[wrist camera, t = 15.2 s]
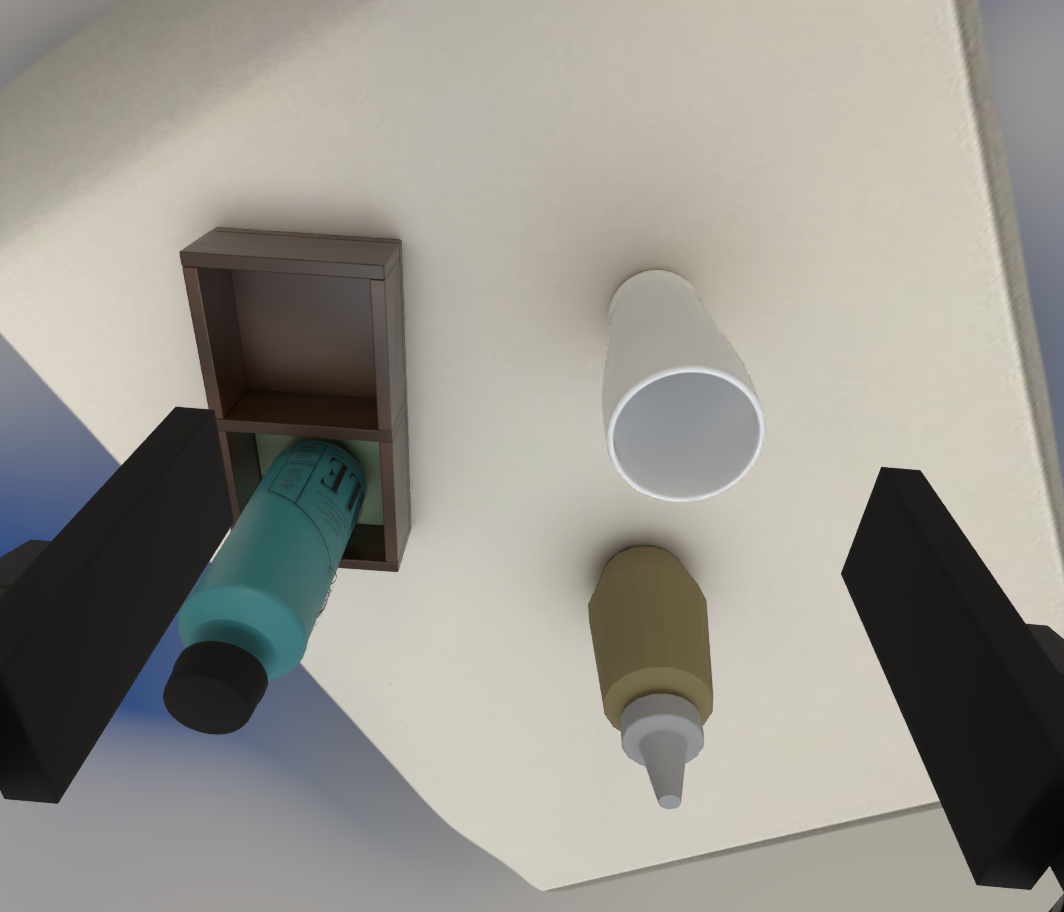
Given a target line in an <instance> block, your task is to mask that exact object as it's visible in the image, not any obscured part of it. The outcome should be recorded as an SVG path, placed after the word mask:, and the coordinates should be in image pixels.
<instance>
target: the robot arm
mask: <svg viewBox="0 0 1064 912" xmlns="http://www.w3.org/2000/svg"><path fill="white" fill-rule="evenodd" d="M233 523H234V517H233V512H232V506H231V500H230V495H229V489H228V483H227V478H226V472H225V467H224V461H223V455H222V450H221V444H220V438H219V433H218V427H217V421H216V416H215V410H209V409H197V408H185V407H175V408H174V409H173V410H172V411H171V412H170V413H169V415H168V416H167V417H166V418H165V419H164V420H163V421H162V422H161V423H160V424H159V425H158V426H157V428H156V429H155V430H154V431H153V432H152V433H151V434H150V435H149V436H148V437H147V438H146V440H145V441H144V442H143V443H142V444H141V445H140V446H139V447H138V448H137V449H136V450H135V451H134V453H133V454H132V455H131V456H130V457H129V458H128V459H127V460H126V461H125V462H124V463H123V464H122V466H121V467H120V468H119V469H118V470H117V471H116V472H115V473H114V474H113V475H112V476H111V477H110V479H109V480H108V481H107V482H106V483H105V484H104V485H103V486H102V487H101V488H100V489H99V490H98V492H97V493H96V494H95V495H94V496H93V497H92V498H91V499H90V500H89V501H88V502H87V504H86V505H85V506H84V507H83V508H82V509H81V510H80V511H79V512H78V513H77V514H76V515H75V516H74V518H73V519H72V520H71V521H70V522H69V523H68V524H67V525H66V526H65V527H64V528H63V530H62V531H61V532H60V533H59V534H58V535H57V536H56V537H55V538H54V539H53V540H52V541H41V540H29V541H27V542H26V543H24V544H22V545H20V546H19V547H17V548H15V549H14V550H13V551H11V552H9V553H7V554H5V555H4V556H2V557H0V791H1V793H2V795H3V797H4V799H10V800H22V801H33V802H45V803H55V804H58V802H59V801H60V799H61V798H62V796H63V795H64V793H65V792H66V790H67V788H68V787H69V785H70V783H71V782H72V780H73V779H74V777H75V776H76V774H77V772H78V771H79V769H80V768H81V766H82V764H83V763H84V761H85V759H86V758H87V756H88V755H89V753H90V751H91V750H92V748H93V747H94V745H95V744H96V742H97V740H98V739H99V737H100V735H101V734H102V732H103V731H104V729H105V727H106V726H107V724H108V723H109V721H110V719H111V718H112V716H113V715H114V713H115V711H116V710H117V708H118V707H119V705H120V703H121V702H122V700H123V699H124V697H125V695H126V694H127V692H128V691H129V689H130V687H131V686H132V684H133V683H134V681H135V679H136V678H137V676H138V675H139V673H140V671H141V670H142V668H143V666H144V665H145V663H146V662H147V660H148V659H149V657H150V655H151V654H152V652H153V651H154V649H155V647H156V646H157V644H158V643H159V641H160V639H161V638H162V636H163V635H164V633H165V631H166V630H167V628H168V627H169V625H170V623H171V622H172V620H173V618H174V617H175V615H176V614H177V612H178V611H179V609H180V607H181V606H182V604H183V603H184V601H185V599H186V598H187V596H188V595H189V593H190V591H191V590H192V588H193V587H194V585H195V583H196V582H197V580H198V578H199V577H200V575H201V574H202V572H203V570H204V569H205V567H206V566H207V564H208V563H209V561H210V559H211V558H212V556H213V555H214V553H215V551H216V550H217V548H218V547H219V545H220V543H221V542H222V540H223V539H224V537H225V535H226V534H227V532H228V531H229V529H230V527H231V526H232V524H233ZM841 575H842V577H843V580H844V582H845V584H846V586H847V589H848V591H849V593H850V596H851V598H852V600H853V602H854V605H855V607H856V609H857V612H858V614H859V616H860V619H861V621H862V623H863V625H864V628H865V630H866V632H867V635H868V637H869V639H870V641H871V644H872V646H873V648H874V651H875V653H876V655H877V658H878V660H879V662H880V664H881V667H882V669H883V671H884V674H885V676H886V678H887V680H888V683H889V685H890V687H891V690H892V692H893V694H894V697H895V699H896V701H897V703H898V706H899V708H900V710H901V713H902V715H903V717H904V719H905V722H906V724H907V726H908V729H909V731H910V733H911V736H912V738H913V740H914V742H915V745H916V747H917V749H918V752H919V754H920V756H921V758H922V761H923V763H924V765H925V768H926V770H927V772H928V775H929V777H930V779H931V781H932V784H933V786H934V788H935V791H936V793H937V795H938V797H939V800H940V802H941V804H942V807H943V809H944V811H945V813H946V816H947V818H948V820H949V823H950V825H951V827H952V830H953V832H954V834H955V836H956V839H957V841H958V843H959V846H960V848H961V850H962V852H963V855H964V857H965V859H966V862H967V864H968V866H969V869H970V871H971V873H972V875H973V878H974V880H975V882H976V885H981V886H993V887H1003V888H1015V889H1026V890H1031V889H1032V888H1033V886H1034V885H1035V884H1036V883H1037V881H1038V880H1039V878H1040V877H1041V876H1042V875H1043V874H1044V872H1045V871H1046V870H1047V869H1048V867H1049V866H1050V867H1051V868H1052V871H1053V872H1054V874H1055V876H1056V878H1057V880H1058V882H1059V884H1060V886H1061V888H1062V889H1063V891H1064V639H1063V638H1062V637H1061V636H1059V635H1058V634H1057V633H1056V632H1055V631H1053V630H1052V629H1051V628H1050V627H1048V626H1046V625H1034V624H1025V622H1024V621H1023V619H1022V618H1021V616H1020V615H1019V613H1018V612H1017V611H1016V609H1015V608H1014V606H1013V605H1012V603H1011V602H1010V600H1009V599H1008V597H1007V596H1006V594H1005V593H1004V592H1003V590H1002V589H1001V587H1000V586H999V584H998V583H997V581H996V580H995V578H994V577H993V576H992V574H991V573H990V571H989V570H988V568H987V567H986V565H985V564H984V562H983V561H982V559H981V558H980V557H979V555H978V554H977V552H976V551H975V549H974V548H973V546H972V545H971V543H970V542H969V540H968V539H967V538H966V536H965V535H964V533H963V532H962V530H961V529H960V527H959V526H958V524H957V523H956V521H955V520H954V519H953V517H952V516H951V514H950V513H949V511H948V510H947V508H946V507H945V505H944V504H943V503H942V501H941V500H940V498H939V497H938V495H937V494H936V492H935V491H934V489H933V488H932V486H931V485H930V484H929V482H928V481H927V479H926V478H925V476H924V475H923V473H922V472H921V470H911V469H899V468H888V467H881V469H880V472H879V474H878V477H877V480H876V482H875V485H874V488H873V490H872V493H871V496H870V498H869V501H868V503H867V506H866V509H865V511H864V514H863V517H862V519H861V522H860V525H859V527H858V530H857V533H856V535H855V538H854V541H853V543H852V546H851V548H850V551H849V554H848V556H847V559H846V562H845V564H844V567H843V570H842V572H841ZM1049 912H1064V894H1063V895H1062V896H1061V897H1060V898H1059V900H1058V901H1057V902H1056V903H1055V905H1054V906H1053V907H1052V908H1051V909H1050V910H1049Z"/></svg>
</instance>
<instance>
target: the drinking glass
mask: <svg viewBox="0 0 1064 912" xmlns="http://www.w3.org/2000/svg"><path fill="white" fill-rule="evenodd" d="M608 323H609V333H608V343H607V352H606V360H605V368H604V377H603V387H602V414H603V424H604V431H605V437H606V442H607V449H608V453H609V457H610V459H611V462H612V464H613V466H614V468H615V469H616V471H617V472H618V474H619V475H620V476H621V477H622V478H623V480H624V481H625V482H626V483H628V484H629V485H630V486H631V487H633V488H634V489H636V490H637V491H639V492H641V493H643V494H645V495H647V496H649V497H652V498H655V499H659V500H663V501H670V502H690V501H697V500H702V499H706V498H709V497H712V496H715V495H717V494H719V493H721V492H723V491H725V490H727V489H729V488H730V487H732V486H733V485H735V484H736V483H737V482H738V481H740V480H741V479H742V478H743V477H744V476H745V475H746V474H747V473H748V472H749V471H750V469H751V468H752V467H753V465H754V464H755V462H756V460H757V459H758V457H759V455H760V453H761V450H762V447H763V443H764V439H765V417H764V413H763V410H762V407H761V404H760V401H759V398H758V395H757V393H756V390H755V387H754V384H753V382H752V380H751V377H750V375H749V373H748V371H747V369H746V367H745V365H744V363H743V362H742V360H741V358H740V357H739V355H738V353H737V352H736V350H735V349H734V347H733V346H732V344H731V343H730V342H729V340H728V339H727V337H726V336H725V335H724V333H723V332H722V331H721V329H720V328H719V327H718V325H717V324H716V322H715V321H714V320H713V318H712V317H711V316H710V314H709V313H708V311H707V310H706V308H705V307H704V306H703V304H702V303H701V301H700V298H699V296H698V294H697V292H696V291H695V289H694V288H693V286H692V285H691V284H690V283H689V282H688V281H687V280H686V279H684V278H683V277H681V276H680V275H678V274H676V273H673V272H670V271H665V270H649V271H645V272H641V273H639V274H636V275H634V276H633V277H631V278H629V279H628V280H627V281H625V282H624V283H623V284H622V285H621V286H620V287H619V289H618V290H617V291H616V293H615V294H614V296H613V298H612V301H611V304H610V307H609V313H608Z"/></svg>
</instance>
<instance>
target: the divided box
mask: <svg viewBox="0 0 1064 912" xmlns="http://www.w3.org/2000/svg"><path fill="white" fill-rule="evenodd" d="M180 258H181V263H182V266H183V274H184V279H185V284H186V290H187V295H188V300H189V306H190V311H191V316H192V322H193V327H194V333H195V338H196V343H197V349H198V354H199V359H200V365H201V370H202V375H203V381H204V386H205V391H206V397H207V402H208V407H209V410H215V416H216V421H217V427H218V433H219V438H220V444H221V450H222V455H223V461H224V467H225V472H226V478H227V483H228V489H229V495H230V500H231V506H232V512H233V517H234V520H235V521H234V523H233V524H232V525H233V526H231V528H232V529H233V528H234V526H235V524H236V522H237V518H239V517H240V515H241V513H240V512H243V510H244V508H245V507H246V506H245V504H246V503H247V504H248V502H249V500H247V498H248V499H249V498H250V499H251V497H252V495H253V494H254V492H255V491H256V489H255V488H256V487H258V486H259V485H258V483H259V482H261V481H262V479H261V478H262V477H264V476H265V474H266V473H267V471H268V469H269V468H270V466H271V464H272V463H273V461H274V460H275V458H276V457H277V456H278V455H279V454H280V453H281V452H282V451H283V450H285V449H286V448H288V447H290V446H291V445H293V444H296V443H299V442H302V441H323V442H327V443H331V444H334V445H336V446H338V447H340V448H342V449H343V450H345V451H346V452H348V453H349V454H350V455H351V456H352V457H353V458H354V459H355V460H356V461H357V462H358V464H359V465H360V467H361V469H362V471H363V473H364V476H365V480H366V483H367V484H366V494H367V495H368V497H367V495H366V496H365V500H364V503H363V506H362V509H361V511H360V513H361V512H362V513H361V515H360V513H359V516H360V517H361V518H360V517H359V516H358V518H359V519H358V518H357V519H358V522H359V523H358V522H357V524H358V525H357V524H356V526H357V527H356V526H355V529H356V530H355V529H354V531H355V532H354V531H353V533H354V534H353V537H352V536H351V538H350V541H349V543H348V546H347V547H348V548H347V549H346V550H345V551H344V553H343V557H342V558H341V559H342V560H343V559H344V560H343V561H340V563H339V566H338V568H348V569H362V570H376V571H390V572H398V571H399V567H400V564H401V561H402V557H403V554H404V551H405V547H406V544H407V541H408V537H409V534H410V531H411V507H410V478H409V448H408V418H407V389H406V359H405V329H404V300H403V270H402V242H401V240H395V239H380V238H366V237H351V236H336V235H322V234H307V233H292V232H278V231H263V230H248V229H234V228H219V227H216V228H215V229H213V230H212V231H210V232H208V233H207V234H205V235H204V236H202V237H201V238H199V239H198V240H196V241H195V242H193V243H192V244H190V245H189V246H187V247H186V248H184V249H183V250H181V251H180ZM265 469H266V470H267V471H266V470H265ZM261 476H262V477H261ZM260 477H261V478H260ZM260 479H261V480H260ZM258 480H260V481H258ZM255 485H257V486H255ZM367 488H368V491H367ZM253 491H254V492H253ZM246 501H247V502H246ZM247 504H246V505H247ZM363 507H364V509H363ZM240 509H242V510H240ZM362 510H363V511H362ZM237 514H239V515H237ZM232 529H231V531H232ZM351 539H352V540H351ZM349 544H350V545H349ZM346 552H347V553H346ZM344 556H345V557H344ZM341 562H342V563H341Z"/></svg>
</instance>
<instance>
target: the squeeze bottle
mask: <svg viewBox="0 0 1064 912" xmlns="http://www.w3.org/2000/svg"><path fill="white" fill-rule="evenodd" d="M588 609H589V623H590V629H591V635H592V641H593V647H594V653H595V659H596V665H597V671H598V677H599V683H600V689H601V695H602V701H603V706H604V712H605V715H606V717H607V718H608V720H609V721H610V723H611V724H612V725H613V727H614V728H616V729H618V730H619V731H621V738H622V748H623V750H624V751H625V753H626V754H627V756H628V757H629V758H630V759H632V760H634V761H635V762H637V763H639V764H640V765H643V766H646V768H647V771H648V774H649V777H650V780H651V783H652V786H653V789H654V791H655V794H656V797H657V800H658V803H659V805H660V806H661V807H663V808H666V809H673V808H676V807H678V806H679V805H680V804H681V797H682V788H683V778H684V768H685V764H686V763H687V762H689V761H690V760H692V759H693V758H695V757H696V756H697V755H698V754H699V752H700V751H701V749H702V748H703V745H704V733H703V728H702V726H703V725H704V724H705V722H706V721H707V719H708V718H709V716H710V715H711V713H712V711H713V687H712V673H711V659H710V645H709V631H708V617H707V603H706V599H705V597H704V595H703V593H702V591H701V589H700V587H699V586H698V584H697V583H696V581H695V580H694V579H693V578H692V576H691V575H690V574H689V573H688V571H687V570H686V569H685V568H684V566H683V565H682V564H681V563H680V561H679V560H678V559H677V558H676V557H674V556H673V555H672V554H670V553H669V552H668V551H666V550H663V549H659V548H656V547H652V546H641V547H632V548H630V549H627V550H624V551H622V552H619V553H618V554H617V555H616V556H614V557H613V558H612V559H611V560H610V561H608V563H607V565H606V567H605V569H604V571H603V574H602V576H601V578H600V580H599V582H598V584H597V587H596V589H595V591H594V593H593V595H592V597H591V599H590V602H589V604H588Z"/></svg>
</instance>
